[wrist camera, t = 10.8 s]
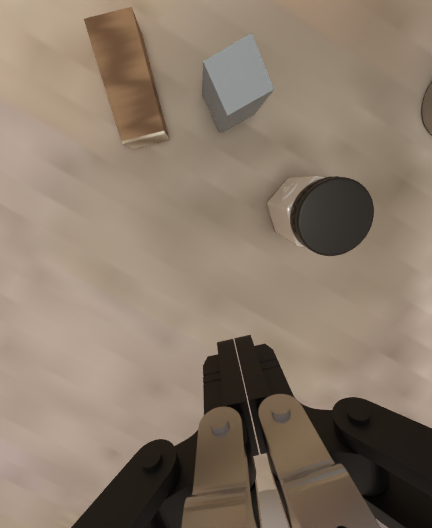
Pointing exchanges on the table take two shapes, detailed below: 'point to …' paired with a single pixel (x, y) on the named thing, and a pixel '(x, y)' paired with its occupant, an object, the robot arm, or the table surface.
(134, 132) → the walnut block
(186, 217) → the table surface
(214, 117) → the grey block
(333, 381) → the table surface
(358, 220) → the jar
